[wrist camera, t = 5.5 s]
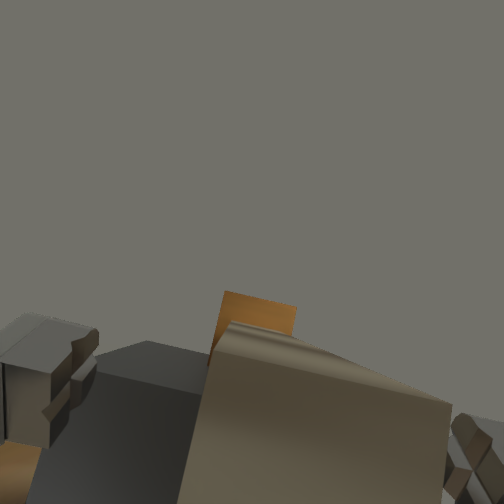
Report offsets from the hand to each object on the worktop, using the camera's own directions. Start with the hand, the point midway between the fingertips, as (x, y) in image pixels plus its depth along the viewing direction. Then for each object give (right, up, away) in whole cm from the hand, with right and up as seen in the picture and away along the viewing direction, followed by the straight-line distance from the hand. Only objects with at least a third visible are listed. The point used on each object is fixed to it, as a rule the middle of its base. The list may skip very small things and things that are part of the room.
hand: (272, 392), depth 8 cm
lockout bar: (-1, -3, +6) cm, 7 cm away
